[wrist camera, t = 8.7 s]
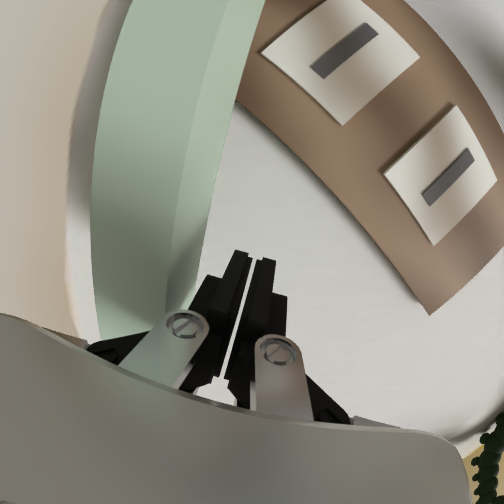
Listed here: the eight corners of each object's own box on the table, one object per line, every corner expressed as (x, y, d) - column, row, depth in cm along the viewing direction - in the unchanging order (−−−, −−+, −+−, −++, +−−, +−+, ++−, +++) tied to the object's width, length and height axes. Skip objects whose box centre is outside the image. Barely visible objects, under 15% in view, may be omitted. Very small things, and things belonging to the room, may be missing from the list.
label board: (302, -57, 7) (303, -85, 4) (522, 205, 11) (549, 220, 8) (169, 48, 11) (141, 33, 8) (423, 305, 15) (440, 335, 13)
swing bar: (215, -60, 5) (190, -105, 2) (293, -55, 5) (290, -107, 2) (135, 288, 13) (95, 335, 10) (197, 310, 13) (169, 367, 10)
